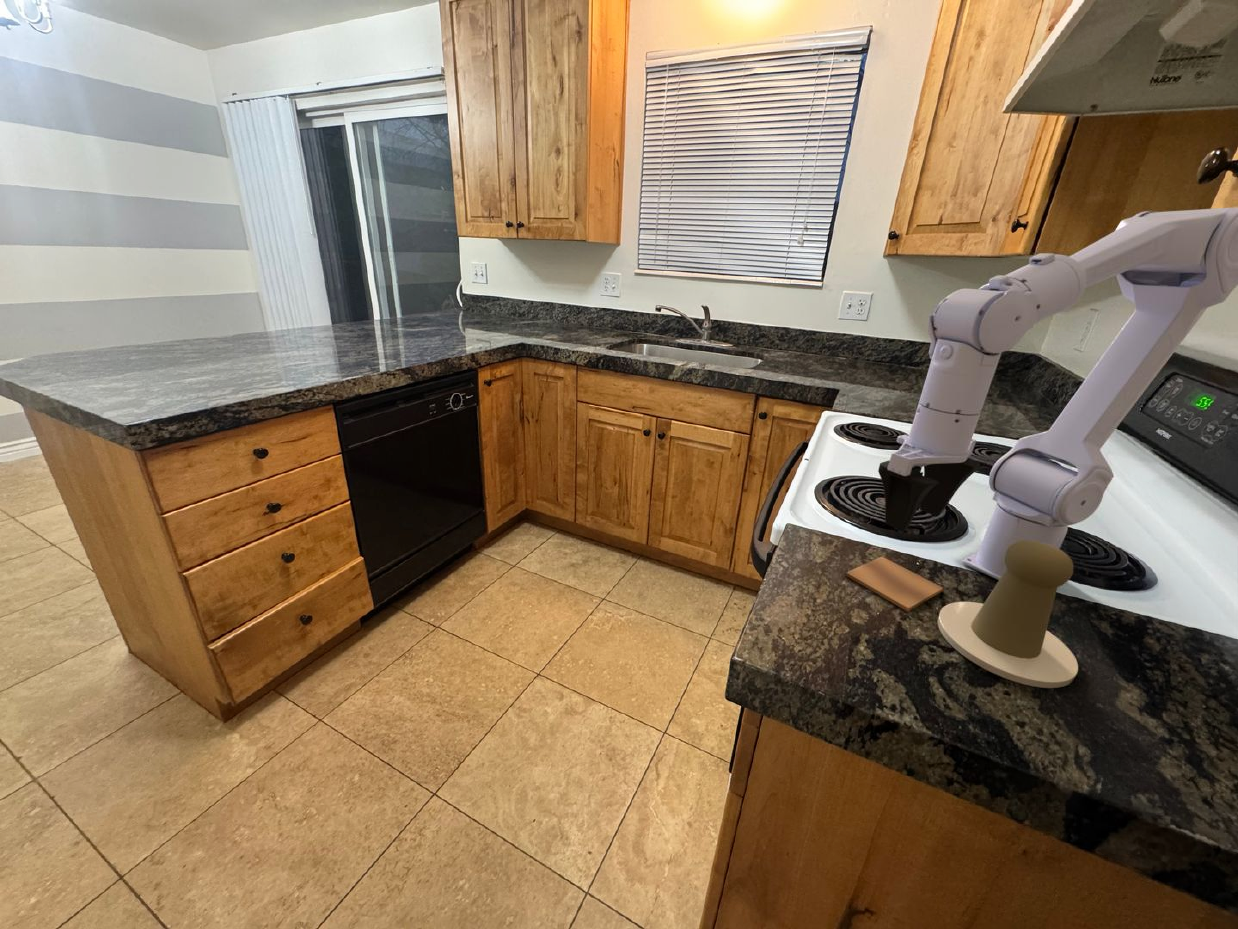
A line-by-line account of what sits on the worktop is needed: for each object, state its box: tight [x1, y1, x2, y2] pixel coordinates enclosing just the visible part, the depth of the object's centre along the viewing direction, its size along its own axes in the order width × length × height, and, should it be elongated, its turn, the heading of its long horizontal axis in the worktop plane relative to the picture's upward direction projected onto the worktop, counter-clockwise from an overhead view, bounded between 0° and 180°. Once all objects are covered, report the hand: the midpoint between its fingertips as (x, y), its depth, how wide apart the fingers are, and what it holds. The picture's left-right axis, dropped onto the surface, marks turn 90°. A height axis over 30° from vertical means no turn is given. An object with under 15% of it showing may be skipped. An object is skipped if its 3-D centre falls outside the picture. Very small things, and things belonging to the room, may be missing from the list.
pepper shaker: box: [971, 540, 1074, 659], centre depth 50 cm, size 6×6×11 cm
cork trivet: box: [845, 556, 944, 612], centre depth 62 cm, size 8×8×1 cm
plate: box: [937, 601, 1079, 689], centre depth 52 cm, size 12×12×1 cm
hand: (912, 519), depth 58 cm, fingers open, 7 cm apart
